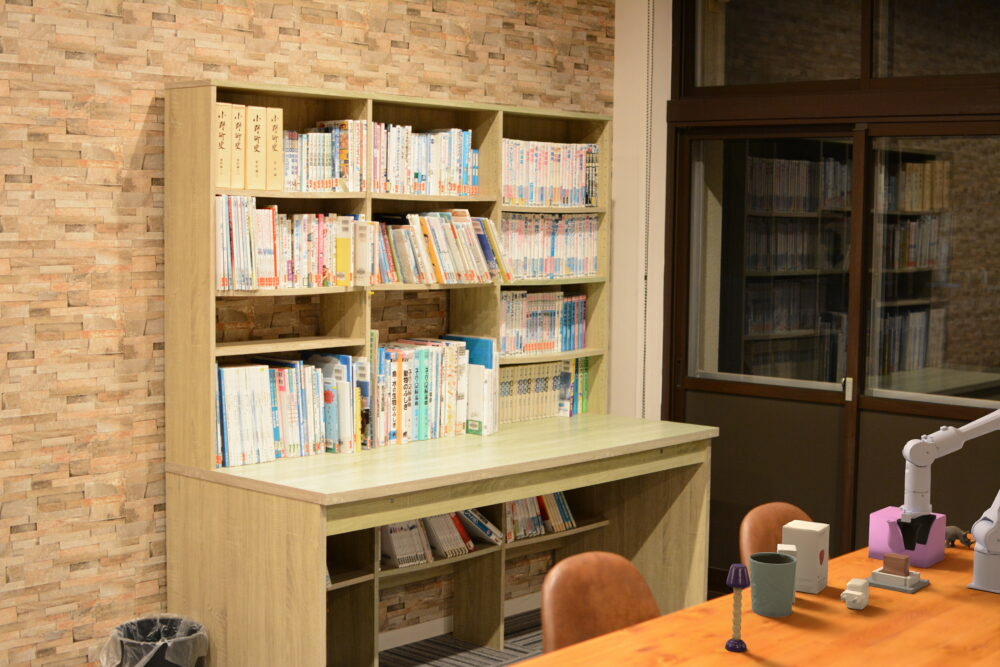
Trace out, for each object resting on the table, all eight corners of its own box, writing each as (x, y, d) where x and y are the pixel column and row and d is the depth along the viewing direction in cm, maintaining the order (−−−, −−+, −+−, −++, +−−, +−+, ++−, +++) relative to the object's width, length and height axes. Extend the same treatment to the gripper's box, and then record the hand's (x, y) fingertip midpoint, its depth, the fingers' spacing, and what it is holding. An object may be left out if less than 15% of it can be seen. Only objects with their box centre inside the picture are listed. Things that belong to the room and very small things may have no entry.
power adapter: (858, 617, 255) (859, 591, 254) (835, 614, 257) (836, 587, 257) (871, 605, 264) (872, 579, 264) (849, 601, 267) (850, 576, 267)
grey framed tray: (880, 574, 291) (881, 562, 291) (929, 583, 283) (929, 571, 283) (861, 584, 282) (861, 572, 281) (911, 593, 274) (911, 581, 274)
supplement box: (817, 595, 272) (819, 531, 271) (779, 588, 277) (781, 525, 276) (828, 586, 279) (830, 523, 278) (791, 580, 284) (793, 518, 283)
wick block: (888, 577, 285) (889, 552, 285) (908, 581, 282) (909, 556, 282) (882, 580, 282) (883, 555, 282) (903, 583, 279) (904, 559, 279)
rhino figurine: (972, 553, 314) (973, 530, 313) (922, 544, 323) (923, 522, 323) (978, 550, 317) (979, 528, 316) (928, 541, 326) (929, 520, 326)
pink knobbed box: (857, 563, 301) (859, 509, 300) (894, 545, 321) (896, 495, 320) (916, 574, 292) (918, 518, 291) (950, 555, 311) (953, 503, 310)
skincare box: (795, 603, 265) (797, 551, 264) (775, 602, 266) (777, 549, 265) (794, 596, 271) (795, 544, 270) (775, 594, 272) (776, 543, 271)
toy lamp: (721, 644, 236) (724, 562, 235) (744, 643, 236) (746, 561, 235) (728, 652, 231) (730, 568, 230) (751, 651, 232) (754, 568, 230)
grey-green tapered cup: (798, 608, 261) (800, 555, 260) (789, 621, 252) (791, 565, 251) (753, 602, 265) (754, 549, 264) (742, 614, 256) (744, 560, 255)
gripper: (912, 484, 288) (910, 538, 289) (889, 492, 277) (887, 549, 278) (941, 487, 283) (939, 543, 284) (919, 496, 272) (917, 554, 273)
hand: (915, 547), depth 281 cm, fingers open, 7 cm apart
